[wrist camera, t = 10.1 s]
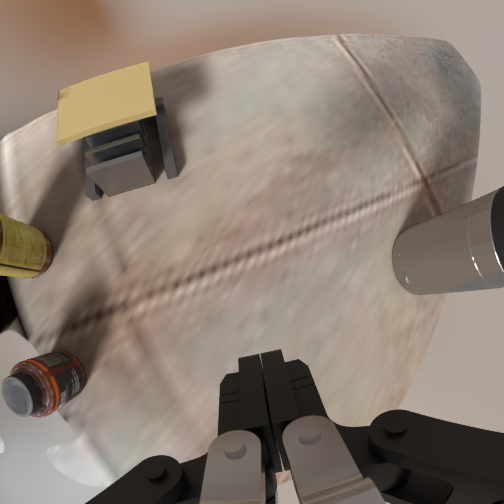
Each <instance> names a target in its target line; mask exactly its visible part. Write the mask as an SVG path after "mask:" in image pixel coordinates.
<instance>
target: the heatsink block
mask: <svg viewBox="0 0 504 504" xmlns="http://www.w3.org/2000/svg"><path fill="white" fill-rule="evenodd" d="M84 139H85V140H86V142H87V143H88V145H89V146H90V147H91V149H89V150H86V151H85V156H86V157H87V158H88V160H89V161H90V162H91V163H92V164H93V166H91V167H88V168H86V173H87V175H88V176H89V177H90V178H91V179H92V180H93V181H94V182H95V183H96V184H97V185H98V186H99V187H100V188H101V189H102V190H103V192H104V193H105V194H106V195H107V196H108V197H110V196H114V195H117V194H120V193H124V192H127V191H130V190H134V189H137V188H141V187H144V186H148V185H151V184H155V179H154V173H153V168H152V162H151V157H150V151H149V145H148V138H147V132H146V125H145V121H144V118H143V119H140V120H136V121H133V122H129V123H126V124H122V125H119V126H116V127H113V128H109V129H106V130H103V131H100V132H97V133H94V134H91V135H89V136H86V137H84Z"/></svg>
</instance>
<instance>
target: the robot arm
mask: <svg viewBox="0 0 504 504" xmlns="http://www.w3.org/2000/svg"><path fill="white" fill-rule="evenodd" d="M392 263H393V268H394V272H395V274H396V277H397V279H398V281H399V282H400V284H401V285H402V286H403V287H404V288H405V289H406V290H407V291H409V292H411V293H413V294H417V295H426V294H440V293H453V292H464V291H474V290H484V289H494V288H502V287H504V186H503V187H501V188H499V189H497V190H495V191H493V192H491V193H488V194H486V195H484V196H482V197H480V198H477V199H475V200H473V201H471V202H468V203H466V204H464V205H461V206H459V207H457V208H455V209H452V210H450V211H448V212H445V213H443V214H440V215H438V216H436V217H433V218H431V219H429V220H426V221H424V222H421V223H419V224H416V225H414V226H412V227H409V228H407V229H405V230H404V231H402V233H401V234H400V235H399V236H398V238H397V239H396V241H395V244H394V247H393V253H392ZM261 359H262V363H261ZM261 359H260V356H259V354H256V355H251V356H246V357H241V358H239V359H238V362H239V372H236V373H231V374H226V376H225V377H224V379H223V380H222V382H221V384H220V396H219V404H220V405H219V419H218V437H217V438H215V439H214V440H213V442H212V443H211V444H210V446H209V449H208V452H207V453H206V454H205V455H203V456H201V457H198V458H196V459H193V460H190V461H187V462H184V463H181V464H179V462H178V461H177V460H176V459H174V458H172V457H170V456H165V455H158V456H153V457H149V458H147V459H145V460H143V461H142V462H141V463H139V464H138V465H137V466H135V467H134V468H133V469H132V470H130V471H129V472H128V473H126V474H125V475H124V476H122V477H121V478H120V479H118V480H117V481H116V482H114V483H113V484H112V485H110V486H109V487H108V488H106V489H105V490H104V491H102V492H101V493H99V494H98V495H97V496H95V497H94V498H93V499H91V500H90V501H88V502H87V503H85V504H278V493H277V481H276V475H275V473H277V472H282V465H281V459H282V463H283V466H284V470H285V471H287V470H290V471H291V475H292V479H293V482H294V487H295V490H296V494H297V496H298V500H299V503H300V504H386V503H385V502H388V503H390V504H504V433H500V432H494V431H489V430H484V429H479V428H475V427H470V426H465V425H461V424H457V423H452V422H448V421H444V420H440V419H436V418H432V417H428V416H425V415H421V414H418V413H414V412H410V411H406V410H391V411H387V412H384V413H382V414H380V415H379V416H377V417H376V418H375V419H374V420H373V421H372V423H371V425H370V426H362V427H345V426H341V425H338V424H336V423H334V422H333V421H332V420H330V418H329V417H328V415H327V413H326V411H325V408H324V406H323V403H322V401H321V398H320V395H319V393H318V390H317V388H316V385H315V383H314V380H313V377H312V375H311V372H310V370H309V367H308V366H307V365H306V364H305V363H303V362H302V361H301V360H299V359H297V360H293V361H289V362H284V358H283V355H282V351H281V349H279V350H274V351H270V352H265V353H261ZM262 366H263V367H262ZM279 452H280V453H279ZM280 455H281V459H280Z"/></svg>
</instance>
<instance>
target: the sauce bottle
mask: <svg viewBox="0 0 504 504" xmlns="http://www.w3.org/2000/svg"><path fill="white" fill-rule="evenodd" d="M51 257H52V246H51V243H50V240H49V239H48V237H47V235H46V234H45V233H43V232H41V231H40V230H38V229H37V228H35V227H32V226H30V225H27V224H25V223H22V222H19V221H17V220H14V219H12V218H9V217H7V216H4V215H2V214H0V275H3V276H11V277H21V278H34V277H38V276H39V275H41V274H42V273H43V272H45V271H46V270H47V268H48V266H49V264H50V261H51Z"/></svg>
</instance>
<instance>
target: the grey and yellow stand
mask: <svg viewBox="0 0 504 504" xmlns="http://www.w3.org/2000/svg"><path fill="white" fill-rule="evenodd" d="M143 118H144V121H145V123H146V122H149V121H153V120H157V127H158V133H159V138H160V144H161V150H162V155H163V161H164V166H165V171H166V175H167V177H168V179H170V178H174V177H178V174H177V170H176V165H175V160H174V155H173V150H172V145H171V140H170V134H169V129H168V124H167V118H166V113H165V108H164V103H163V99H162V97H160V98H156V99H154V93H153V86H152V78H151V71H150V65H149V62H144V63H140V64H137V65H133V66H129V67H126V68H122V69H119V70H116V71H113V72H109V73H106V74H103V75H100V76H97V77H94V78H91V79H89V80H86V81H83V82H80V83H78V84H75V85H72V86H70V87H67V88H65V89H62V90H60V91H59V93H58V115H57V140H56V141H57V143H58V144H59V145H60V146H62V145H64V144H67V143H69V142H72V141H75V140H77V139H80V138H83V155H84V172H85V185H86V196H88V197H89V198H90V199H91V200H92V201H93V200H97V199H100V198H101V192H100V187H99V186H98V185H97V184H96V183H95V182H94V181H93V180H92V179H91V178H90V177H89V176H88V175H87V173H86V168H88V167H91V166H93V164H92V163H91V162H90V161H89V160H88V158H87V157H86V156H85V151H86V150H89V149H91V147H90V146H89V145H88V143H87V142H86V140H85V139H84V137H86V136H89V135H91V134H94V133H97V132H100V131H103V130H106V129H109V128H113V127H116V126H119V125H122V124H126V123H129V122H133V121H136V120H140V119H143Z"/></svg>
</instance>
